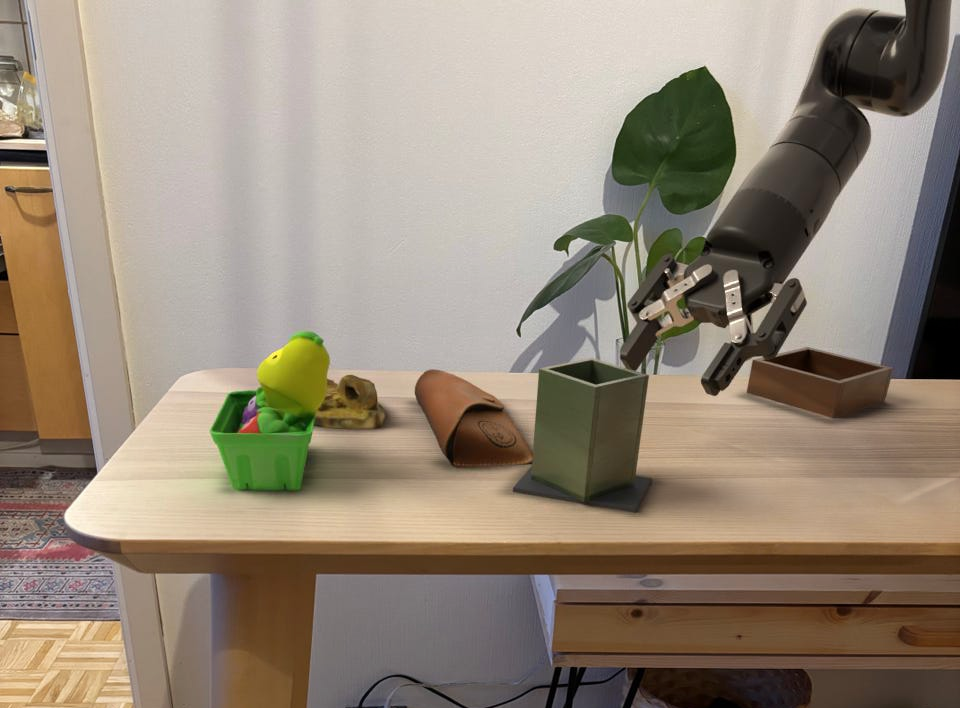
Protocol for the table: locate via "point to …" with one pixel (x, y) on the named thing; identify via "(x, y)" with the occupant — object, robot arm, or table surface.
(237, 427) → the fruit basket
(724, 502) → the table surface
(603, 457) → the green square pen holder
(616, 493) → the felt mat
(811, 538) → the table surface
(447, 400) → the sunglasses case
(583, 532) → the table surface
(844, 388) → the brown open box
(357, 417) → the tan lumpy piece
